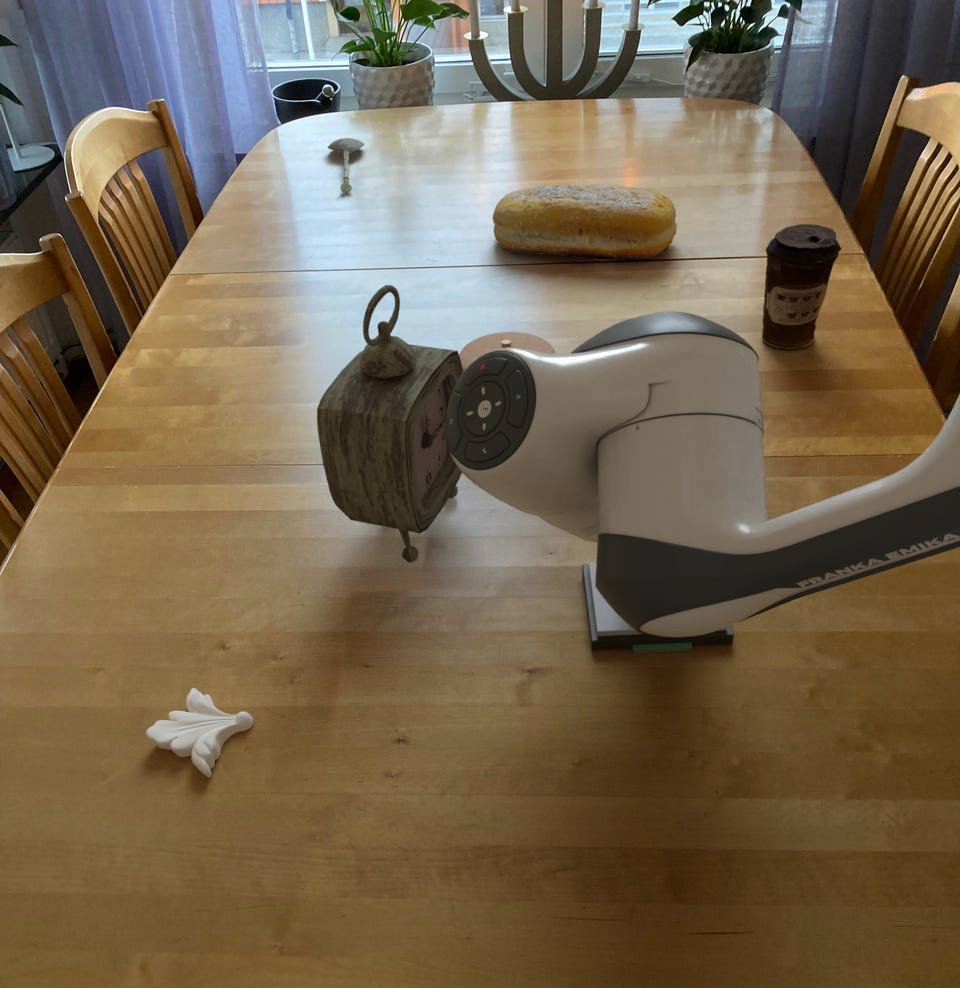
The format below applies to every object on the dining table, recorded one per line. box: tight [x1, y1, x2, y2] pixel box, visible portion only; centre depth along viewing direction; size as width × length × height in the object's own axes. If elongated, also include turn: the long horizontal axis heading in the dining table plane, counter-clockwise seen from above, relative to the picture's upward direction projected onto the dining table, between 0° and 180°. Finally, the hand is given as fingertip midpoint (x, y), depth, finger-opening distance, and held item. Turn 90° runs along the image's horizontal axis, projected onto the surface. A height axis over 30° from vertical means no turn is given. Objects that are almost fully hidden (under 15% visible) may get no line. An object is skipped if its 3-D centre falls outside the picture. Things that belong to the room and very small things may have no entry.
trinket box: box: [458, 331, 556, 372], centre depth 112 cm, size 11×11×9 cm
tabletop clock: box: [316, 284, 463, 563], centre depth 94 cm, size 14×9×25 cm, turn 160°
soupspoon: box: [327, 137, 365, 194], centre depth 172 cm, size 22×3×7 cm
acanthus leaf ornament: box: [145, 687, 254, 779], centre depth 83 cm, size 8×7×2 cm
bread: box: [492, 183, 678, 261], centre depth 143 cm, size 13×26×8 cm, turn 77°
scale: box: [581, 561, 735, 654], centre depth 89 cm, size 12×10×4 cm
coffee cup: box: [761, 223, 842, 350], centre depth 119 cm, size 9×8×13 cm
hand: (666, 518), depth 82 cm, fingers closed on tumbler, 6 cm apart
